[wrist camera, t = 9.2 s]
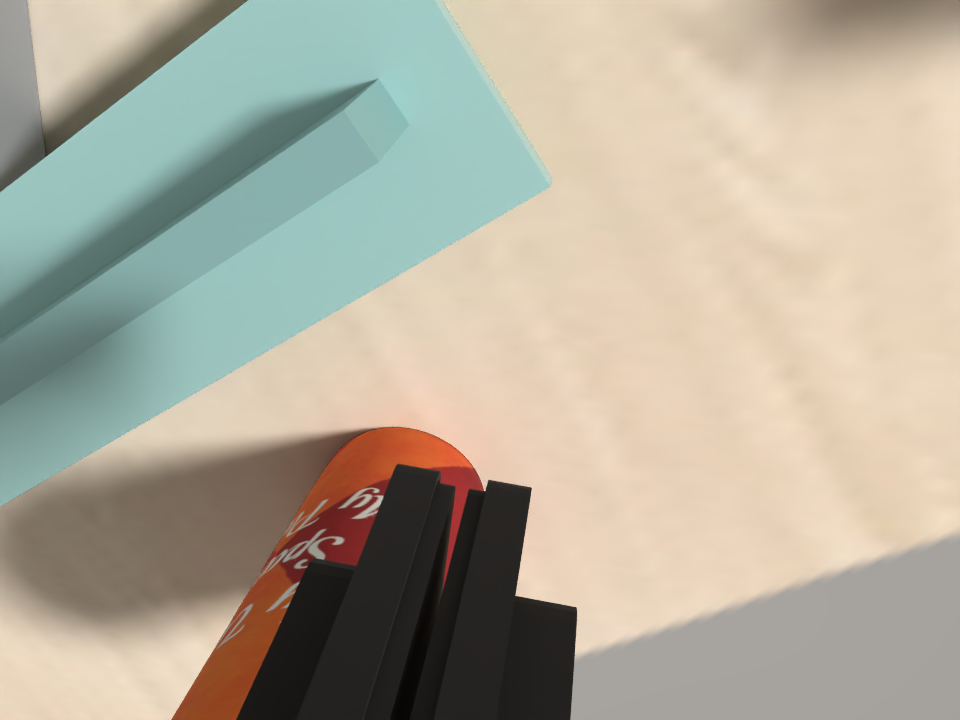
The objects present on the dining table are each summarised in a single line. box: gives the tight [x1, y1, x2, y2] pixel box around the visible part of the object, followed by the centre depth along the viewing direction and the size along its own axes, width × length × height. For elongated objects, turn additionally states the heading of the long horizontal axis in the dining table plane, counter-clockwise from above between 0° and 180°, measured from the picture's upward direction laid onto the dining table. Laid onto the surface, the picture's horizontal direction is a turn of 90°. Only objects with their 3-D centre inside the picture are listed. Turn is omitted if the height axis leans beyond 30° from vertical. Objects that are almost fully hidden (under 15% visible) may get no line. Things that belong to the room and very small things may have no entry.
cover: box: [0, 0, 552, 506], centre depth 23 cm, size 22×7×4 cm, turn 123°
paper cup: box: [172, 427, 484, 720], centre depth 25 cm, size 8×8×14 cm
